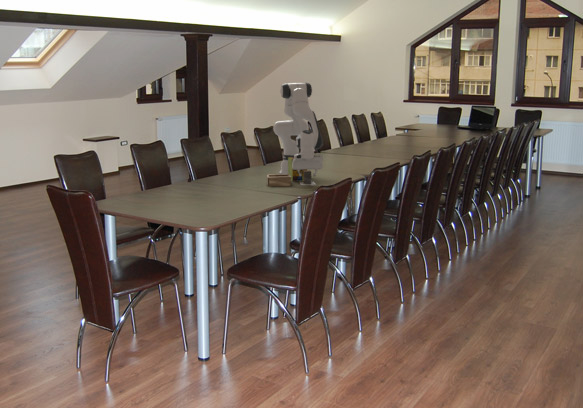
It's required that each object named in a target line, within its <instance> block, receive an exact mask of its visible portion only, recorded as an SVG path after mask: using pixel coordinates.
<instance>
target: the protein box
mask: <svg viewBox="0 0 583 408" xmlns="http://www.w3.org/2000/svg"><path fill="white" fill-rule="evenodd" d="M293 159H294V157H288V174H290V176H291V182H304V171H308V169H302V170H300V171H299V172H300V173H301V174H302V176H299V173H298V171H297V170H293V169H292V162H293Z"/></svg>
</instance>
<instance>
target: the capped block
mask: <svg viewBox="0 0 583 408" xmlns="http://www.w3.org/2000/svg"><path fill="white" fill-rule="evenodd" d="M303 182H304V184H311V182H312V171H311V170H307V171H304V181H303Z"/></svg>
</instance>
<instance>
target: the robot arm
mask: <svg viewBox="0 0 583 408" xmlns="http://www.w3.org/2000/svg"><path fill="white" fill-rule="evenodd" d="M279 92H280V94H281V97H282V98H283V99H284V114H285V115H286V117H289V118H291V119H289V120H288V119H286V120H278V121H275V123H274V125H273V128H272V129H273V132H274V134H275V135H277V136H278V138H280V140H281V142H282V145H283V146H282V147H283V154H282V161H281V163H280V170H279V171H278V174H288V157H294V159H293V162H292V169H293V170H297V171H298V173H299V176H302V174H301V173H300V172H299V171H300V170H302V169H307V170H315V171H314V172H313V173H312V174H313V177H316V176H317V175H316V174H317V172H318V170H322V169H323V168H324V165H323V161H324V156H322V155H321V154H315V150H320V149H321V148H322V147H323V146H324V139H323V135H322V134H321V133H322V132H321V130H320V129H321V128H320V126H319V122H318V119H317V115H316V113H315V112H314V111H313V110H312V109H311V107H310V103H309V98H311V96H312V93H313V87H312V85H311V83H309V82H289V83H287V82H285V83H282V85H281V86H280V91H279ZM307 121H308V122H309V123H310V126H311V129H312V130H309V129H310V127H309V124H308V122H307ZM292 136H296V138H295V139H292V138H291V137H292Z"/></svg>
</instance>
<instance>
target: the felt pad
mask: <svg viewBox="0 0 583 408" xmlns="http://www.w3.org/2000/svg"><path fill="white" fill-rule="evenodd" d="M298 182H299V184H300V186H309V187H316V186H317V184H316V182H315V181H311V184H304V181H298Z"/></svg>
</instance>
